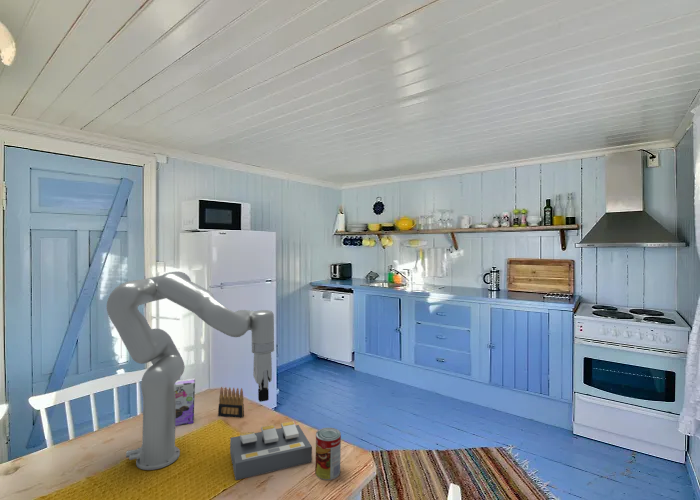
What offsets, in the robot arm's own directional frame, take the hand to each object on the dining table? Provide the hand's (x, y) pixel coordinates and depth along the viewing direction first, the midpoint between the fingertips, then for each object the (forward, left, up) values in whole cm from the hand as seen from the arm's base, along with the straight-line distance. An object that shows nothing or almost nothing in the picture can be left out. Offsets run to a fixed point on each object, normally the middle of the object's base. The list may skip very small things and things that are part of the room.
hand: (263, 400), depth 120 cm
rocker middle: (+2, -2, -11) cm, 12 cm away
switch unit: (+2, -4, -18) cm, 18 cm away
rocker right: (+9, -2, -11) cm, 15 cm away
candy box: (-28, +34, -18) cm, 48 cm away
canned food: (+17, -19, -18) cm, 31 cm away
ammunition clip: (-7, +32, -18) cm, 38 cm away
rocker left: (-5, -2, -11) cm, 13 cm away
